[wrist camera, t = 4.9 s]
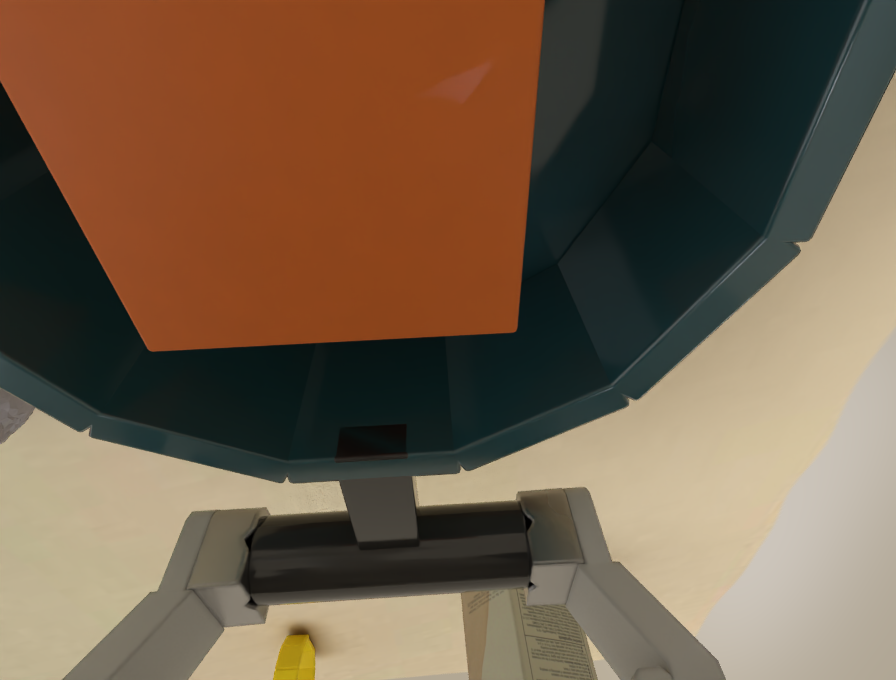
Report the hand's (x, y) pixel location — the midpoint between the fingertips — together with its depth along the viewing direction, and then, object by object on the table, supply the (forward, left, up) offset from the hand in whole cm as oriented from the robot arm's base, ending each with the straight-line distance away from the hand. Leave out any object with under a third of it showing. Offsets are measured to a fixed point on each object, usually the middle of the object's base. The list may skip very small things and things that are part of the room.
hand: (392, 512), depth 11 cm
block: (-8, 0, -2) cm, 9 cm away
